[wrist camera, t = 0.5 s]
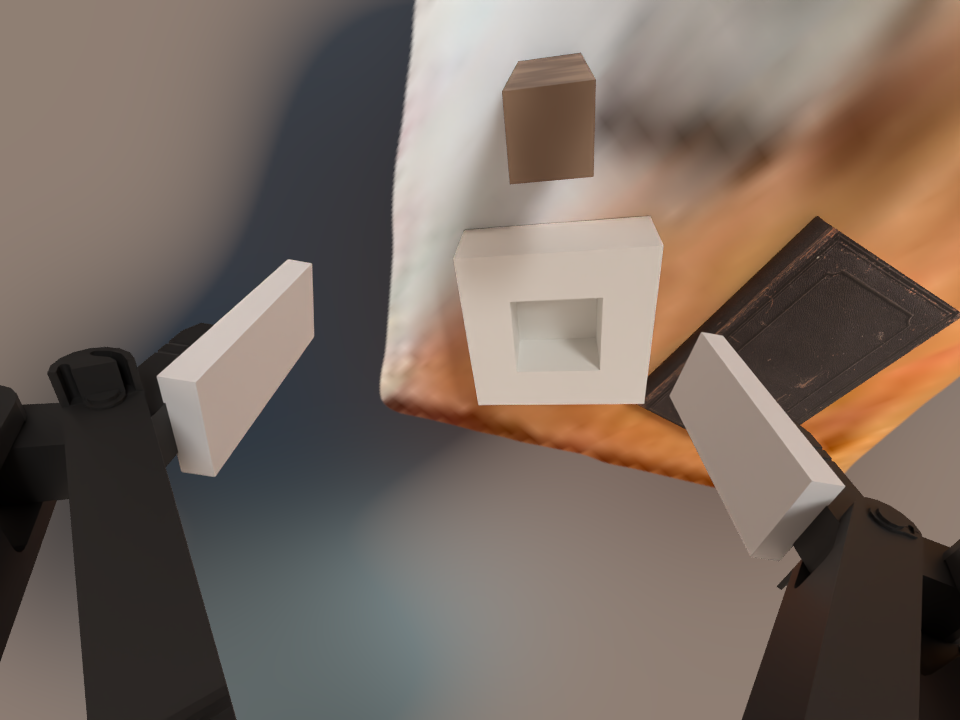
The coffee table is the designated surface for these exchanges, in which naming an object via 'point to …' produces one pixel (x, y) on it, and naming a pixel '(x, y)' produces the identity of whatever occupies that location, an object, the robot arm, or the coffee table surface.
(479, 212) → the coffee table surface
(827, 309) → the hardcover book
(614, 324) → the grey well block
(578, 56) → the walnut peg
